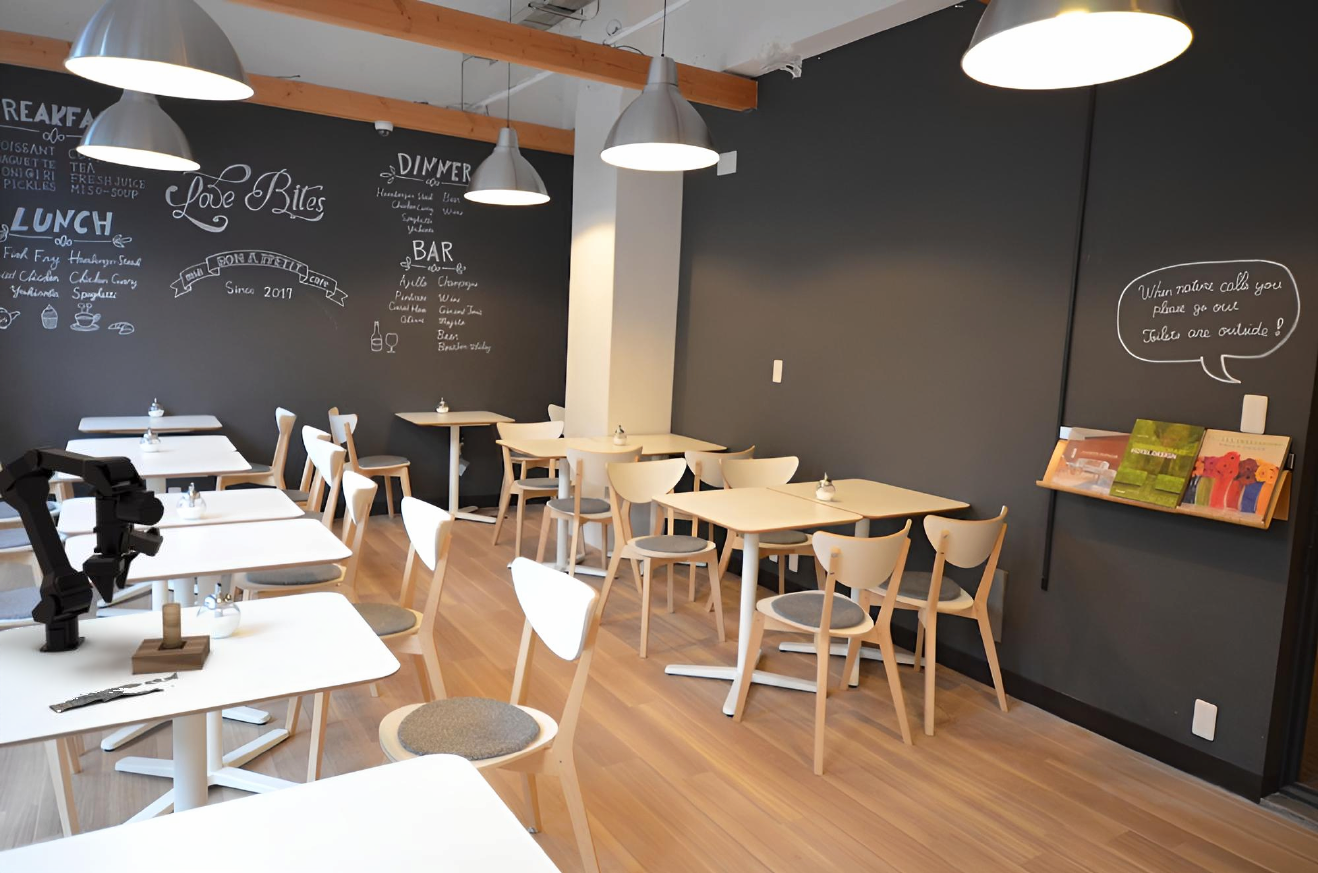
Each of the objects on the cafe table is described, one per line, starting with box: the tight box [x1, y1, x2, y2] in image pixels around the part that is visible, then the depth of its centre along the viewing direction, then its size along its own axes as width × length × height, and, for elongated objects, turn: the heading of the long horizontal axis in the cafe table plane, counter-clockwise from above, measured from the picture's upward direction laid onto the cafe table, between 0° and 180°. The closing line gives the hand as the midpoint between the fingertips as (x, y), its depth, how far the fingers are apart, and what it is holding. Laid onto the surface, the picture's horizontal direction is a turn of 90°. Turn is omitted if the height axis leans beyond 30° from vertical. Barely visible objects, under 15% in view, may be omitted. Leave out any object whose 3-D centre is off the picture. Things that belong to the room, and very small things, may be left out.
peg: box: [161, 602, 182, 650], centre depth 172 cm, size 3×3×12 cm
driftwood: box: [50, 671, 179, 713], centre depth 158 cm, size 21×7×2 cm, turn 130°
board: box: [131, 634, 211, 675], centre depth 173 cm, size 10×12×4 cm
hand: (115, 595), depth 173 cm, fingers open, 9 cm apart
